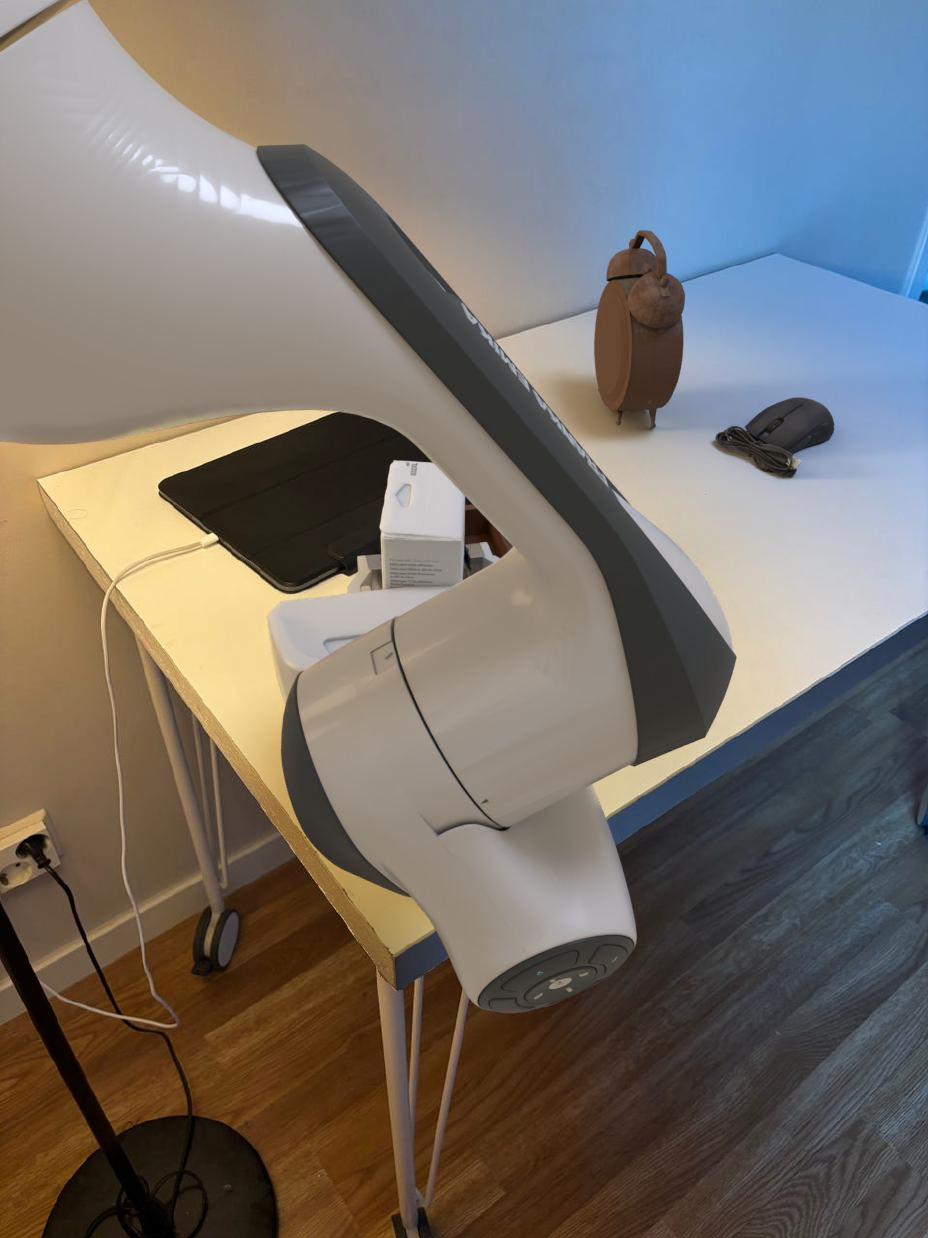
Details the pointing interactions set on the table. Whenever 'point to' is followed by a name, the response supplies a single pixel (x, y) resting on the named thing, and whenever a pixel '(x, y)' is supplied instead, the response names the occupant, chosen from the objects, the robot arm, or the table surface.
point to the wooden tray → (483, 533)
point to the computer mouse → (781, 433)
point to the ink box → (421, 527)
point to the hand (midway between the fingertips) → (421, 557)
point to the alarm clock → (639, 330)
